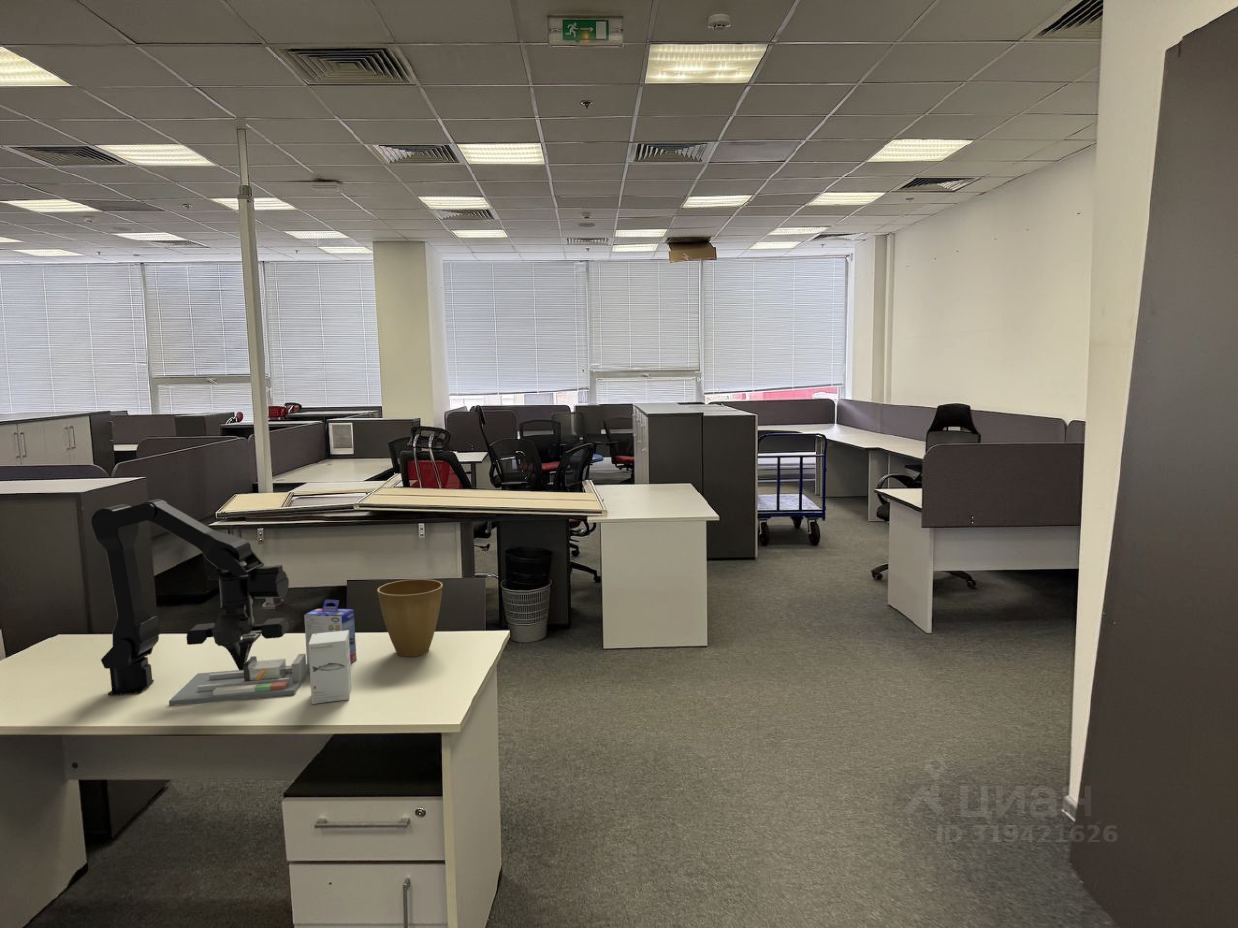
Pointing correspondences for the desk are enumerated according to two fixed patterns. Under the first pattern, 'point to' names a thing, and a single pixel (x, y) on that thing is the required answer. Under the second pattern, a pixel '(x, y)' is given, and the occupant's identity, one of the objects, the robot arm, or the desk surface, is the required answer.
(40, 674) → the desk surface
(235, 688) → the board
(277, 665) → the grey block
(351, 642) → the ink cartridge box
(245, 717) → the desk surface
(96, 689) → the desk surface
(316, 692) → the supplement box
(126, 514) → the robot arm
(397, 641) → the plant pot
